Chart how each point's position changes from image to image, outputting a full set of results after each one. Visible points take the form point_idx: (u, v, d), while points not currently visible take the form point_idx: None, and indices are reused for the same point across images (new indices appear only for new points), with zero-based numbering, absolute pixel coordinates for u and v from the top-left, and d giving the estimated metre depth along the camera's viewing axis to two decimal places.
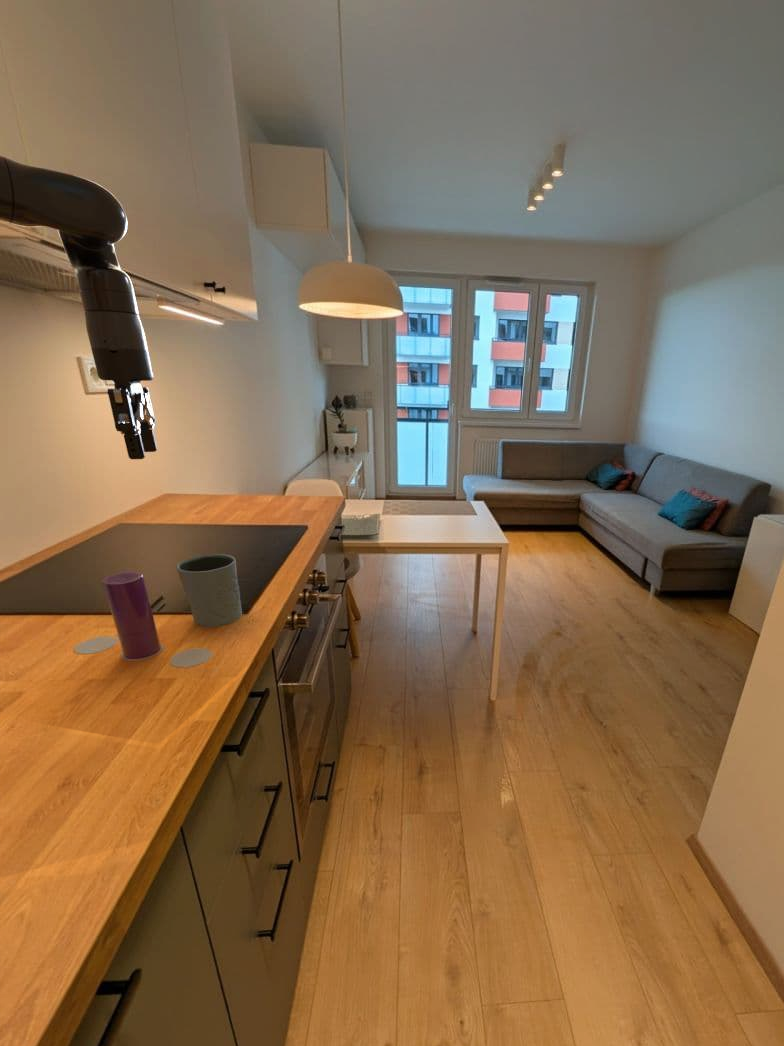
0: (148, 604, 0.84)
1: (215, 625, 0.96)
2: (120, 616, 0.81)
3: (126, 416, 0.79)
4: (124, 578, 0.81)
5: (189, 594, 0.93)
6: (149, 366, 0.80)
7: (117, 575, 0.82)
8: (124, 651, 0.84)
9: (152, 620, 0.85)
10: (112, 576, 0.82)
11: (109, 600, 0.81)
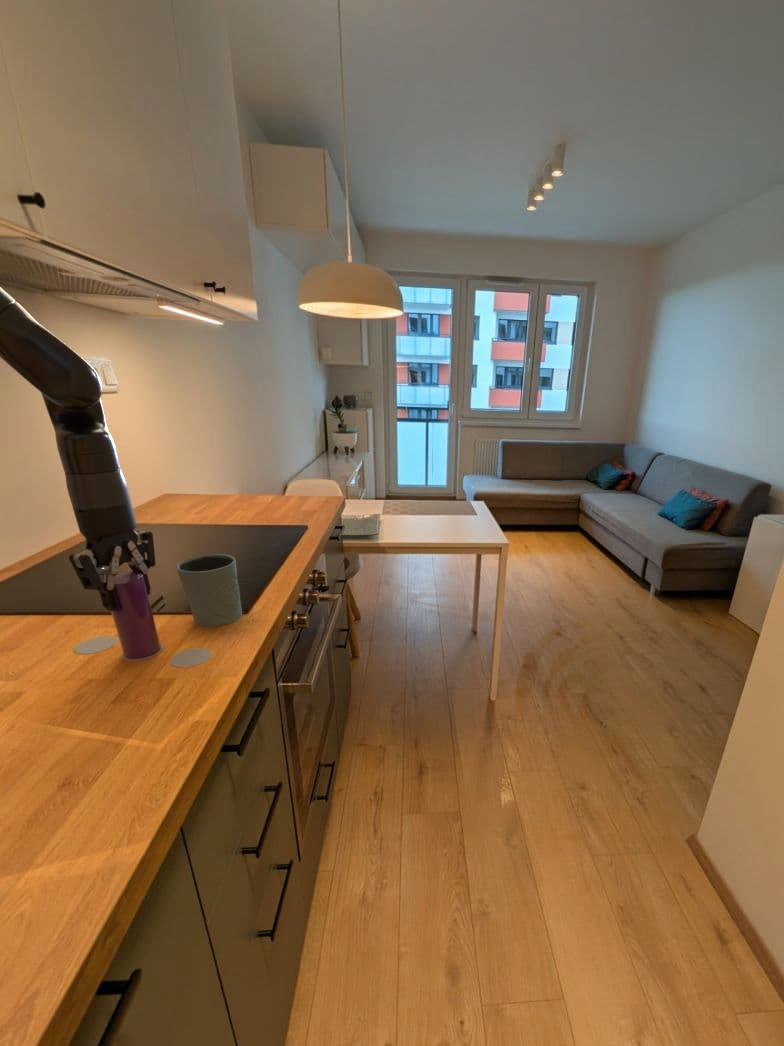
0: (148, 604, 0.84)
1: (215, 625, 0.96)
2: (120, 616, 0.81)
3: (100, 572, 0.78)
4: (124, 578, 0.81)
5: (189, 594, 0.93)
6: (123, 520, 0.76)
7: (117, 575, 0.83)
8: (124, 651, 0.84)
9: (152, 620, 0.85)
10: None
11: None
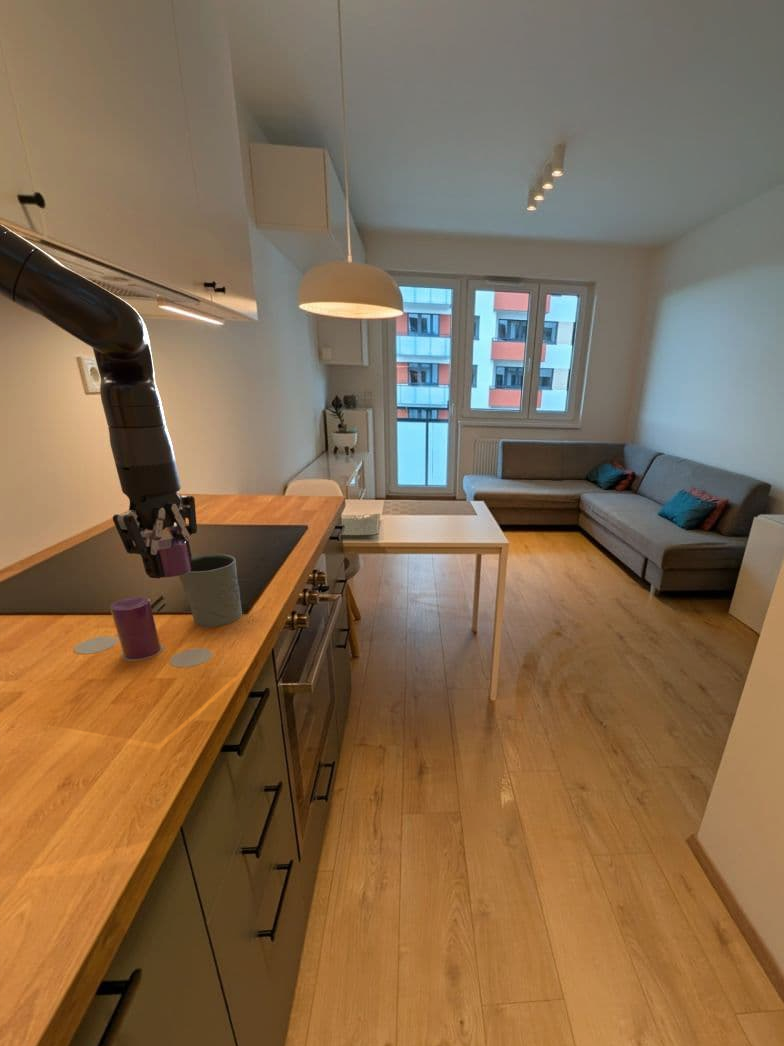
0: (148, 604, 0.84)
1: (215, 625, 0.96)
2: (120, 616, 0.81)
3: (143, 536, 0.73)
4: (167, 544, 0.77)
5: (189, 594, 0.93)
6: (169, 480, 0.72)
7: (159, 541, 0.78)
8: (124, 651, 0.84)
9: (152, 620, 0.85)
10: None
11: None
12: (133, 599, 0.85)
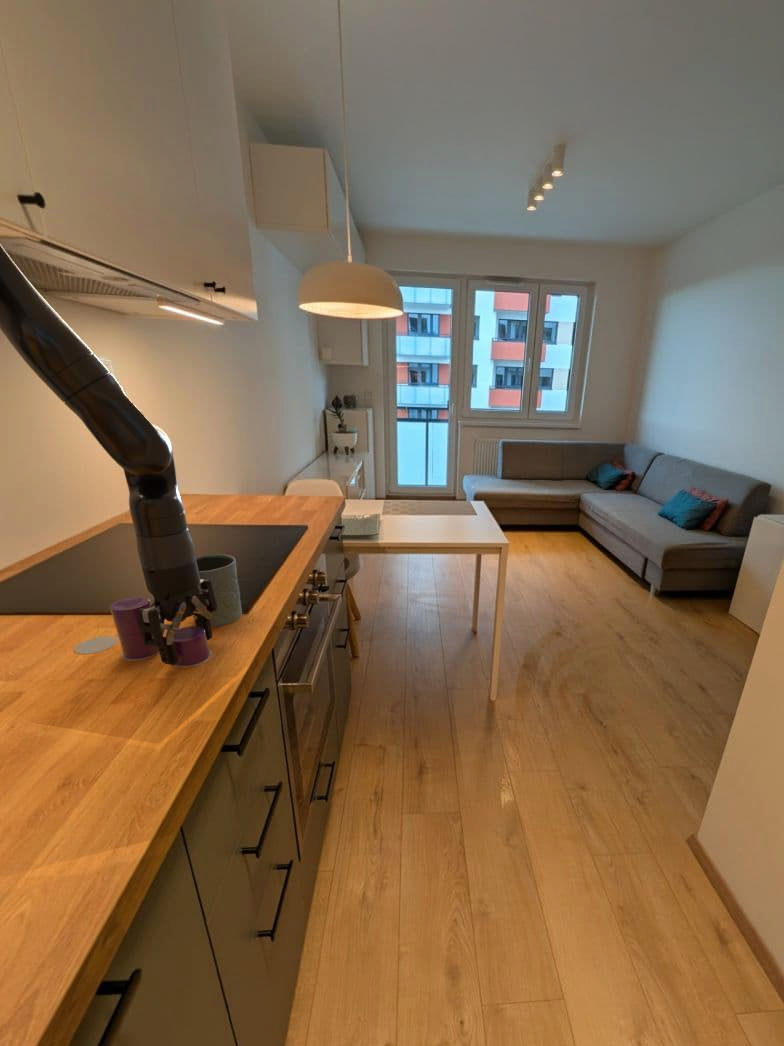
0: (148, 604, 0.84)
1: (215, 625, 0.96)
2: (120, 616, 0.81)
3: (162, 627, 0.79)
4: (188, 634, 0.83)
5: None
6: (190, 578, 0.78)
7: (180, 630, 0.84)
8: (124, 651, 0.84)
9: None
10: None
11: None
12: (133, 599, 0.85)
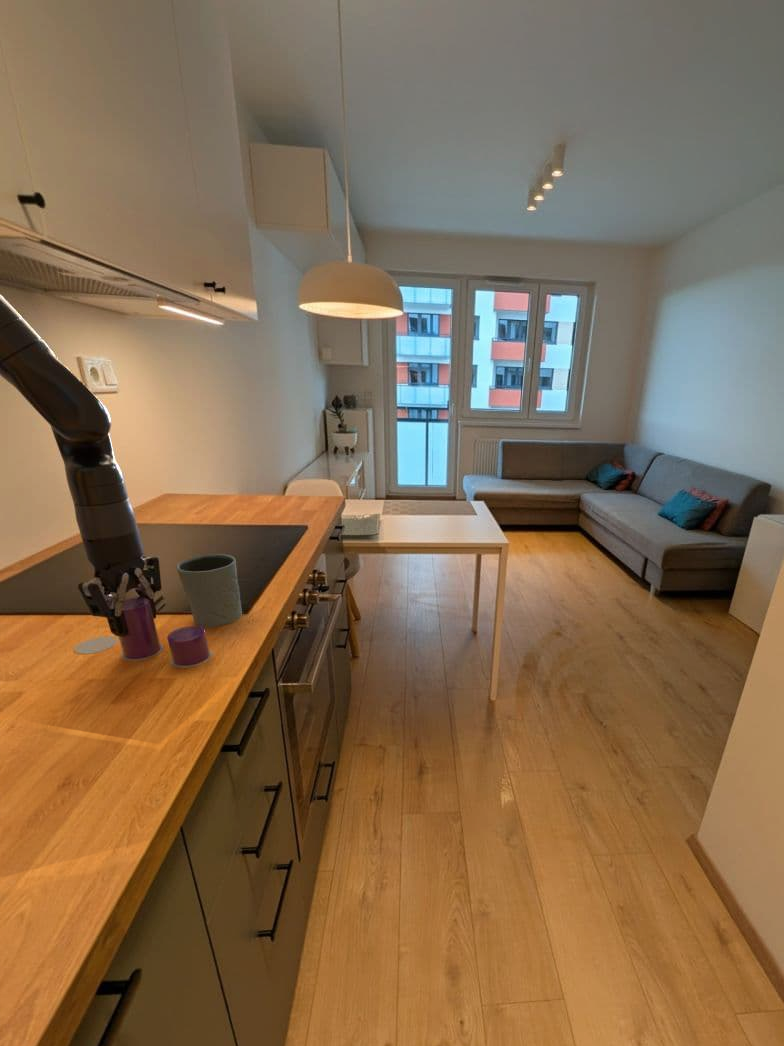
0: (148, 604, 0.84)
1: (215, 625, 0.96)
2: None
3: (108, 599, 0.80)
4: (188, 634, 0.83)
5: (189, 594, 0.93)
6: (131, 548, 0.78)
7: (180, 630, 0.84)
8: (124, 651, 0.84)
9: (152, 620, 0.85)
10: (175, 631, 0.84)
11: (174, 656, 0.83)
12: (133, 599, 0.85)
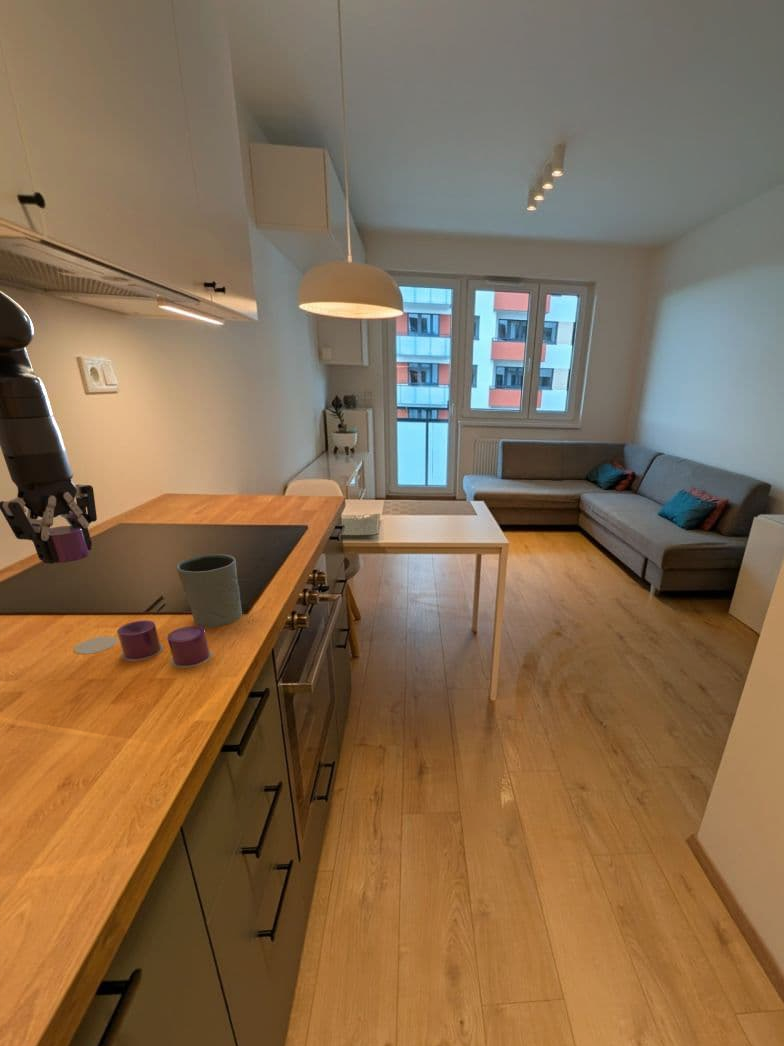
0: (80, 532, 0.81)
1: (215, 625, 0.96)
2: None
3: (34, 522, 0.77)
4: (188, 634, 0.83)
5: (189, 594, 0.93)
6: (56, 468, 0.75)
7: (180, 630, 0.84)
8: (124, 651, 0.84)
9: (85, 549, 0.82)
10: (175, 631, 0.84)
11: (174, 656, 0.83)
12: (65, 527, 0.82)
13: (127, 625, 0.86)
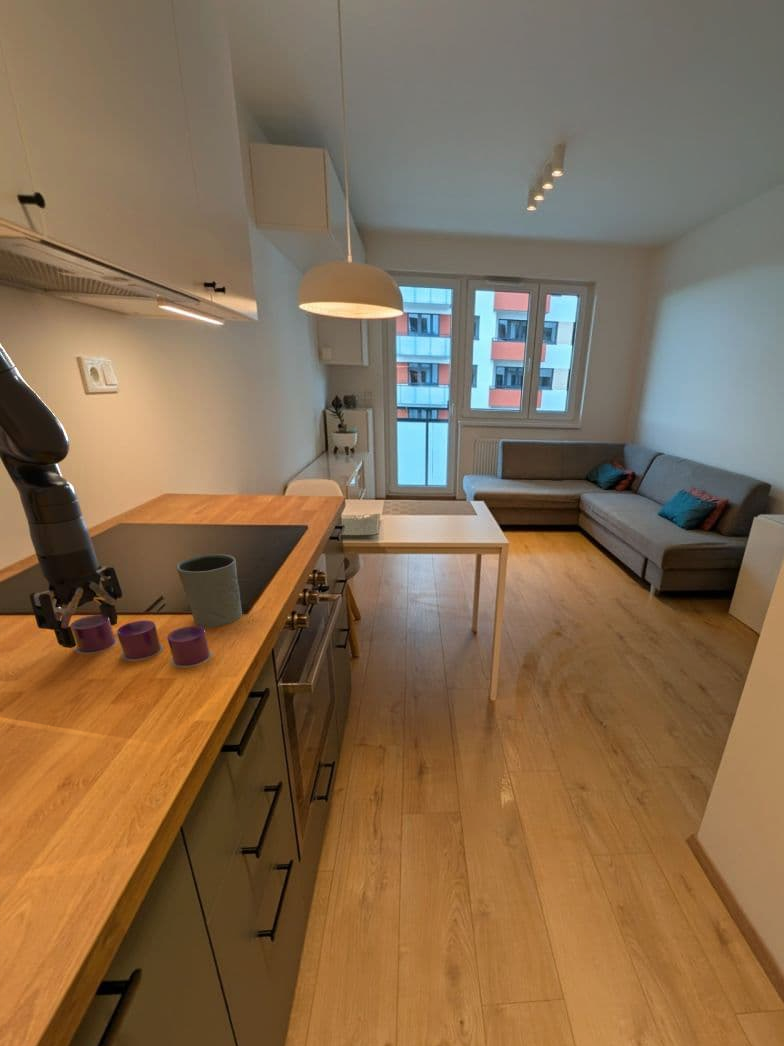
0: (108, 622, 0.88)
1: (215, 625, 0.96)
2: (80, 634, 0.85)
3: (58, 611, 0.82)
4: (188, 634, 0.83)
5: (189, 594, 0.93)
6: (84, 564, 0.81)
7: (180, 630, 0.84)
8: (124, 651, 0.84)
9: (112, 637, 0.89)
10: (175, 631, 0.84)
11: (174, 656, 0.83)
12: (94, 617, 0.89)
13: (127, 625, 0.86)
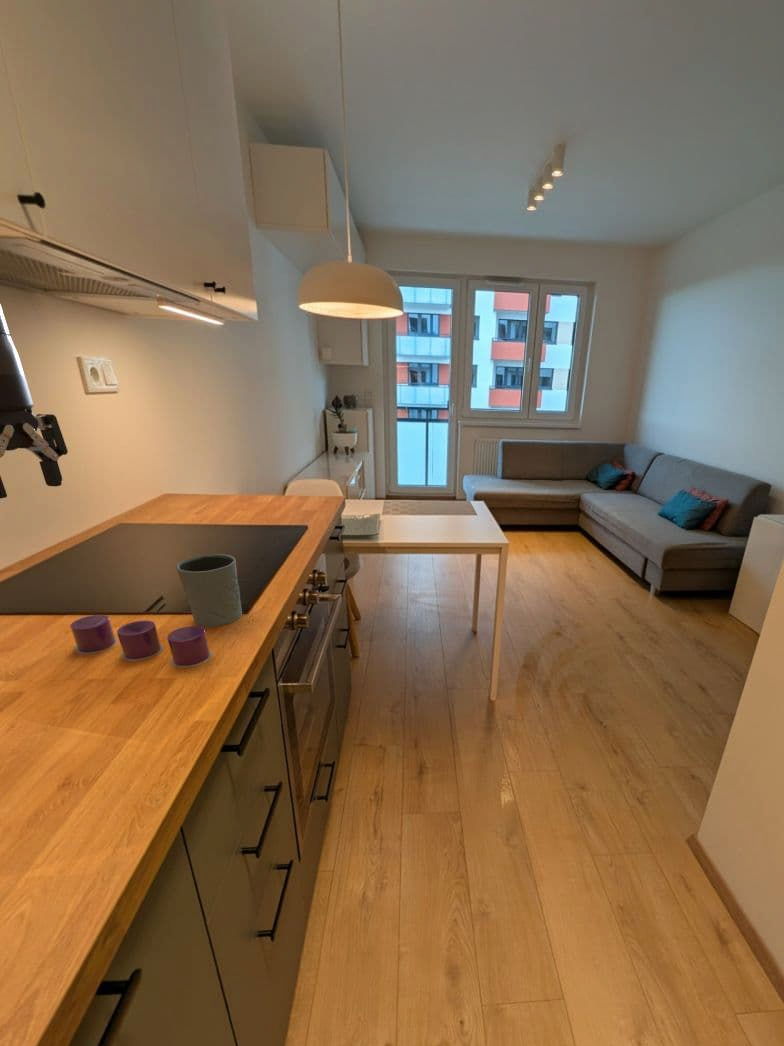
0: (108, 622, 0.88)
1: (215, 625, 0.96)
2: (80, 634, 0.85)
3: None
4: (188, 634, 0.83)
5: (189, 594, 0.93)
6: (13, 393, 0.68)
7: (180, 630, 0.84)
8: (124, 651, 0.84)
9: (112, 637, 0.89)
10: (175, 631, 0.84)
11: (174, 656, 0.83)
12: (94, 617, 0.89)
13: (127, 625, 0.86)
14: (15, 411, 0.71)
